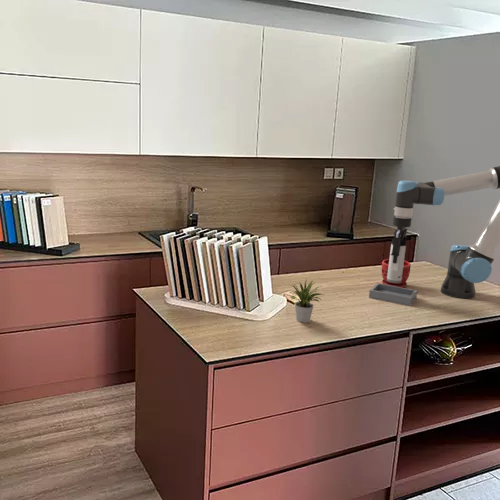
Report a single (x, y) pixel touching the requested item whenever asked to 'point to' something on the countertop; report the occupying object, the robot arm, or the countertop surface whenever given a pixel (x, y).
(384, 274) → the plant pot
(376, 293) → the tray
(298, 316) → the house plant
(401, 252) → the travel mug
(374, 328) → the countertop surface
